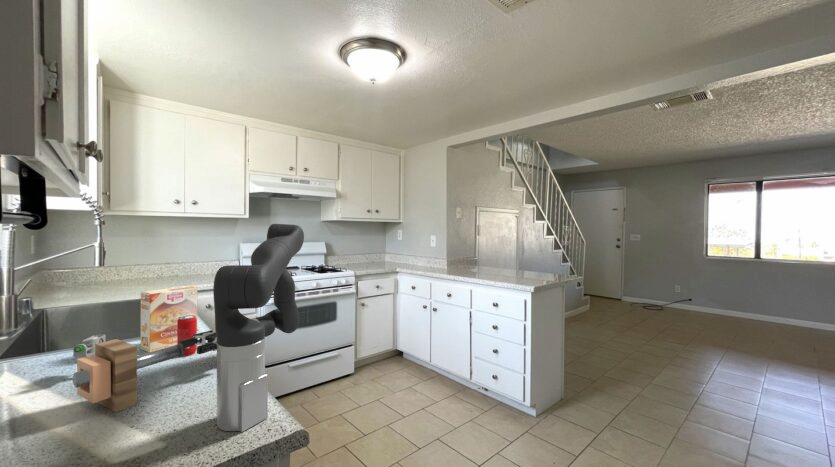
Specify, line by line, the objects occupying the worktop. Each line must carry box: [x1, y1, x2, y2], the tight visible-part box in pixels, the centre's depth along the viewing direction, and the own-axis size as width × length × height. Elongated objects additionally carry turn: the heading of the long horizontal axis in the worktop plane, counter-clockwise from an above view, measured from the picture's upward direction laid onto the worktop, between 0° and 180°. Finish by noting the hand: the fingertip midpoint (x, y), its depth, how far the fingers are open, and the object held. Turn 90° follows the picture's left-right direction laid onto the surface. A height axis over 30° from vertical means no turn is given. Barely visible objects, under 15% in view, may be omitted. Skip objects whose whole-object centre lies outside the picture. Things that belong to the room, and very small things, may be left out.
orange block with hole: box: [76, 355, 111, 404], centre depth 77 cm, size 8×3×8 cm, turn 62°
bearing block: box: [95, 338, 138, 413], centre depth 81 cm, size 10×4×14 cm, turn 62°
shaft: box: [72, 344, 185, 389], centre depth 84 cm, size 21×3×3 cm, turn 152°
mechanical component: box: [72, 334, 107, 359], centre depth 95 cm, size 3×10×10 cm, turn 15°
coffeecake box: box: [140, 285, 198, 353], centre depth 120 cm, size 15×7×20 cm, turn 150°
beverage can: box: [177, 315, 198, 357], centre depth 112 cm, size 5×5×12 cm
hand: (188, 347), depth 95 cm, fingers open, 8 cm apart
